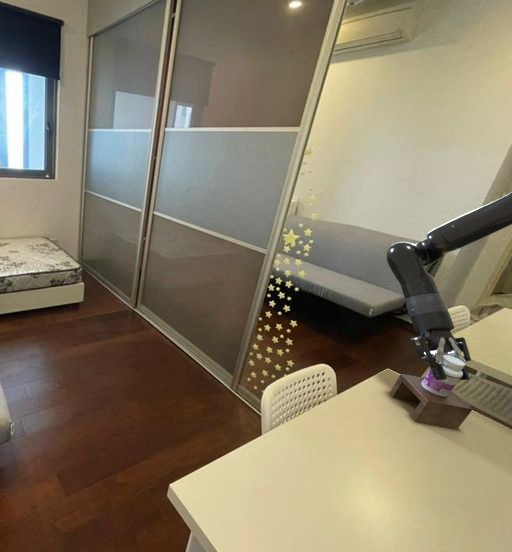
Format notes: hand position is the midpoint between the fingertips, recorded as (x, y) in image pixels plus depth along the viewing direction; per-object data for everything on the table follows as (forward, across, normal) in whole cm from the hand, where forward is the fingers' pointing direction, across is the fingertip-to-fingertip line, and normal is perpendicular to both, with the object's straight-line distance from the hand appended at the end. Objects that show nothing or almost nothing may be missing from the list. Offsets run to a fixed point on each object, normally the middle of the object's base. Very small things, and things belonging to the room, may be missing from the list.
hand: (452, 379), depth 78 cm
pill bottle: (+2, 0, +5) cm, 6 cm away
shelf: (+7, 0, +10) cm, 12 cm away
